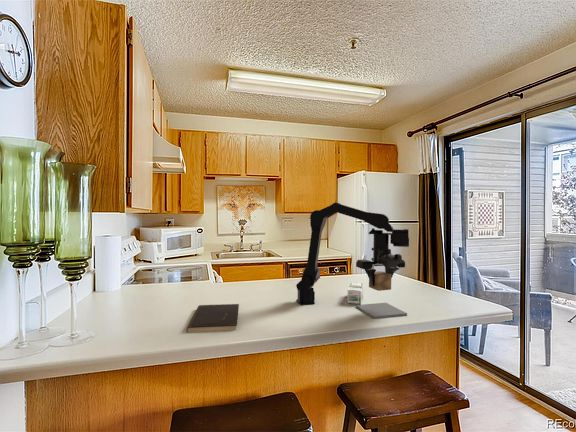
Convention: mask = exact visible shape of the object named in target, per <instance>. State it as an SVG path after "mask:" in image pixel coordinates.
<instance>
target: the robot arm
mask: <svg viewBox="0 0 576 432" xmlns="http://www.w3.org/2000/svg"><path fill="white" fill-rule="evenodd" d="M336 214H341V215H344V216H348V217H351V218H354V219H356V220H360V221H363V222H365V223H368V224H369V225H371V226H372V227H373V228H371V230H370V231H369V232H368V234H369V235H373V246H372V247H371V251H373V252H372V253H373V254H372V257H371V259H370V260H368V259H357V261H356V262H355V267H356V268H358V269H361V270H364V271H365V273H366V275H367V277H368V281H369V280H370V282H371V285H372V286H374V283H375V280H374V273H375V272H377V270H376V269H375V267H384V272H386V273H389V274H391V280H392V278H393V275H394V274H395V272H397V271H398V270H400V269H401V268H406V261H405V260H404V259H402V257H403V256H402V254H401V253H395V254H392V251H391V248H389V247H390V246H389V241H390V245H391V244H392V245H393V247H395V248H396V247H399V248H409V247H410V237H409V235H410V234H409V228H404V229H396V228H395V229H394V227H393V226H392V225H391V224H390V218H389V217H388V215H386V214H384V213H378V212H371V211H370V212H368V211H365V210H361V209H358V208H355V207H352V206H348V205H345V204H341V203H340V202H333V203H332V204H330V205H328V206H326V207H324V208H322V209H317V210H314V211H312V212H311V213H310V215H309V221H310V222H309V224H310V229H311V233H310V234H311V235H310V241H309V248H308V255H307V261H306V262H307V263H306V265H305V267H304V269H303V273H302V276H301V279H300V281H298V282H297V284H295V287H296V290H297V299H295V300H296V302H297V303H298V304H299V305H302V306H304V305H315V303H316V302H315V301H316V300H315V299H316V298H315V292H316V291H314V286H315V284H316V283H317V282H318V281H319V279H320V278H321V271H322V268H318V261H319V255H320V247H321V242H322V233H323V230H324V228H325V226H326V223H327V220H328V219H329V218H330V217H332V216H334V215H336ZM374 227H375V228H377V229H375V228H374ZM384 231H386V232H384ZM389 239H390V240H389Z"/></svg>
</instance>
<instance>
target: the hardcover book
mask: <svg viewBox="0 0 576 432" xmlns="http://www.w3.org/2000/svg"><path fill="white" fill-rule="evenodd" d="M239 307H240V304H239V303H229V304H227V303H226V304H225V303H224V304H200V305H198V306H197V308H196V310H195V312H194V313H193V315H192V317H191V319H190V321H189V323H188V325H187V326H186V331H185V332H186V333H195V332H197V333H199V332H217V331H236V330H237V326H238V318H239Z"/></svg>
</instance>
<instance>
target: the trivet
mask: <svg viewBox="0 0 576 432" xmlns="http://www.w3.org/2000/svg"><path fill="white" fill-rule="evenodd" d="M355 308H357V309H358V310H360V311H361V312H363V313H364V314H366V315H368V316H369V317H371V318H373V319H383V318H384V319H385V318H393V317H403V316H405V317H406V316H408V313H407V312H406V311H403V310H402V309H400V308H398V307H395V306H393V305H391V304H389V303H388V302H378V303H366V304H365V303H364V304H355Z"/></svg>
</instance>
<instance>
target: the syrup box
mask: <svg viewBox="0 0 576 432" xmlns="http://www.w3.org/2000/svg"><path fill="white" fill-rule="evenodd" d="M363 298H364V284H363V283H358V282H350V284H349V286H348V288H347V303H348V304H355V305H362V301H363Z"/></svg>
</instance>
